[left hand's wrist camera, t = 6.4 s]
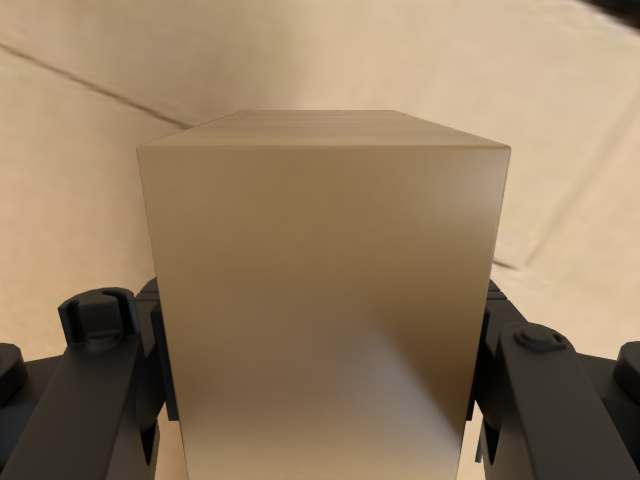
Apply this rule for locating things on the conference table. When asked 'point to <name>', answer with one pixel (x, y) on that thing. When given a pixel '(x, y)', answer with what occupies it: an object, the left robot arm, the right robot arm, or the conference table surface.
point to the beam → (323, 289)
